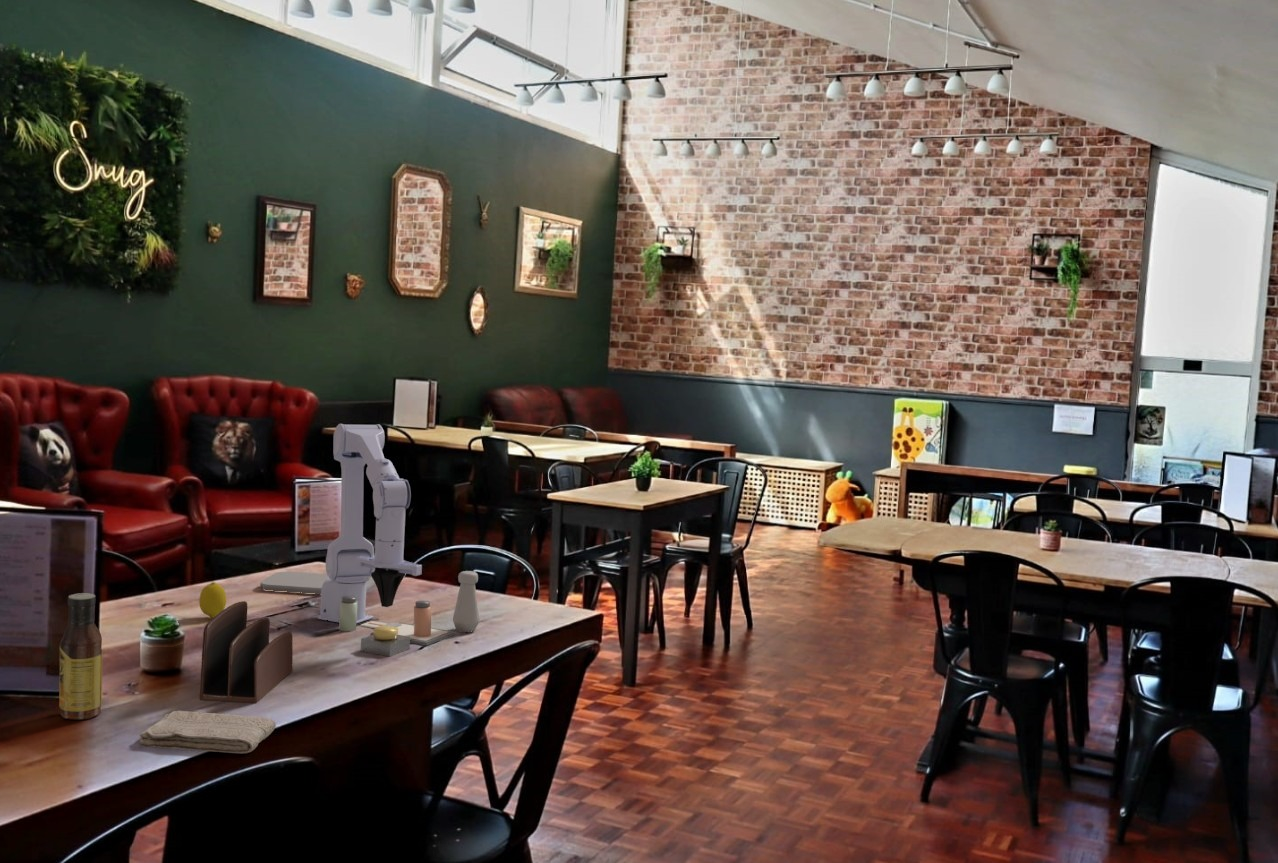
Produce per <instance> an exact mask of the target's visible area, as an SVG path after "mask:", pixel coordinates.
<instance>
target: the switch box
mask: <svg viewBox="0 0 1278 863" xmlns="http://www.w3.org/2000/svg"><path fill="white" fill-rule="evenodd" d="M410 646H411V643H410V637H409V636H403V635H398V637H397V638H395V639H390V640H382V639H376V638H374V635H371V634H370V635H368V636H365V637H363V638H360V652H363V651H364V653H369V654H375V655H378V656H379V655H380V656H385V657H392V656H394V655H397V654H399V653H402V652H405V651H407V650H410V648H411V647H410Z"/></svg>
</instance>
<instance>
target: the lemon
mask: <svg viewBox="0 0 1278 863" xmlns="http://www.w3.org/2000/svg"><path fill="white" fill-rule="evenodd" d="M198 601H199V607H200V608H199V609H200V611H202V612H203V614H205V615H206V616H208V617H209V619H213V618H214V617H215V616H216V615H217V614H219V613H220V612H221V611H223V610H224V609H226V605H227V592H226V590H225V589H224V588H223V586H222V585H220V584H218V583H216V582H210V583H209V584H207V585H205V586H204V587H203V588H202V589H201V591H200V595H199V600H198Z"/></svg>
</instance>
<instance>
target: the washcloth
mask: <svg viewBox="0 0 1278 863" xmlns="http://www.w3.org/2000/svg"><path fill="white" fill-rule="evenodd" d="M276 728H277V726H276V722H275V720H273V719H272V718H268V717H260V716H245V715H241V714H228V713H227V714H226V713H215V712H212V713H210V712H201V711H200V712H199V711H188V710H186V711H185V710H174V711H171V713H166V714H164V716H163V718H161V720H159V721H157V722H156V723H154V724H153V725H151V726H149V727H147V728H146V729H145V730H144V731H143V732H140V734H139V736H140V738H139V741H138V742H139V744H141V745H144V746H148V747H152V748H155V747H156V748H161V749H173V750H175V749H176V750H187V751H189V750H190V751H200V752H201V751H202V752H203V751H204V752H215V753H216V752H217V753H218V752H219V753H229V754H248V753H251V752H253V751H255V749H256V748H257V747H258V745H259V743H261V742H262V741H264V740H266V738H268V737H269V736H270V735H271V734H272V733H273V732H274V730H275V729H276Z"/></svg>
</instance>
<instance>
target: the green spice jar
mask: <svg viewBox="0 0 1278 863" xmlns="http://www.w3.org/2000/svg"><path fill="white" fill-rule="evenodd" d="M357 603H358V602H357V601H356V597H355V596H343V597H342V601H341V602H340V619H339V622H338V623H339V626H338V630H339V631H341V632H354V630H355V631H356V630H357V624H358V623H357Z"/></svg>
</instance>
